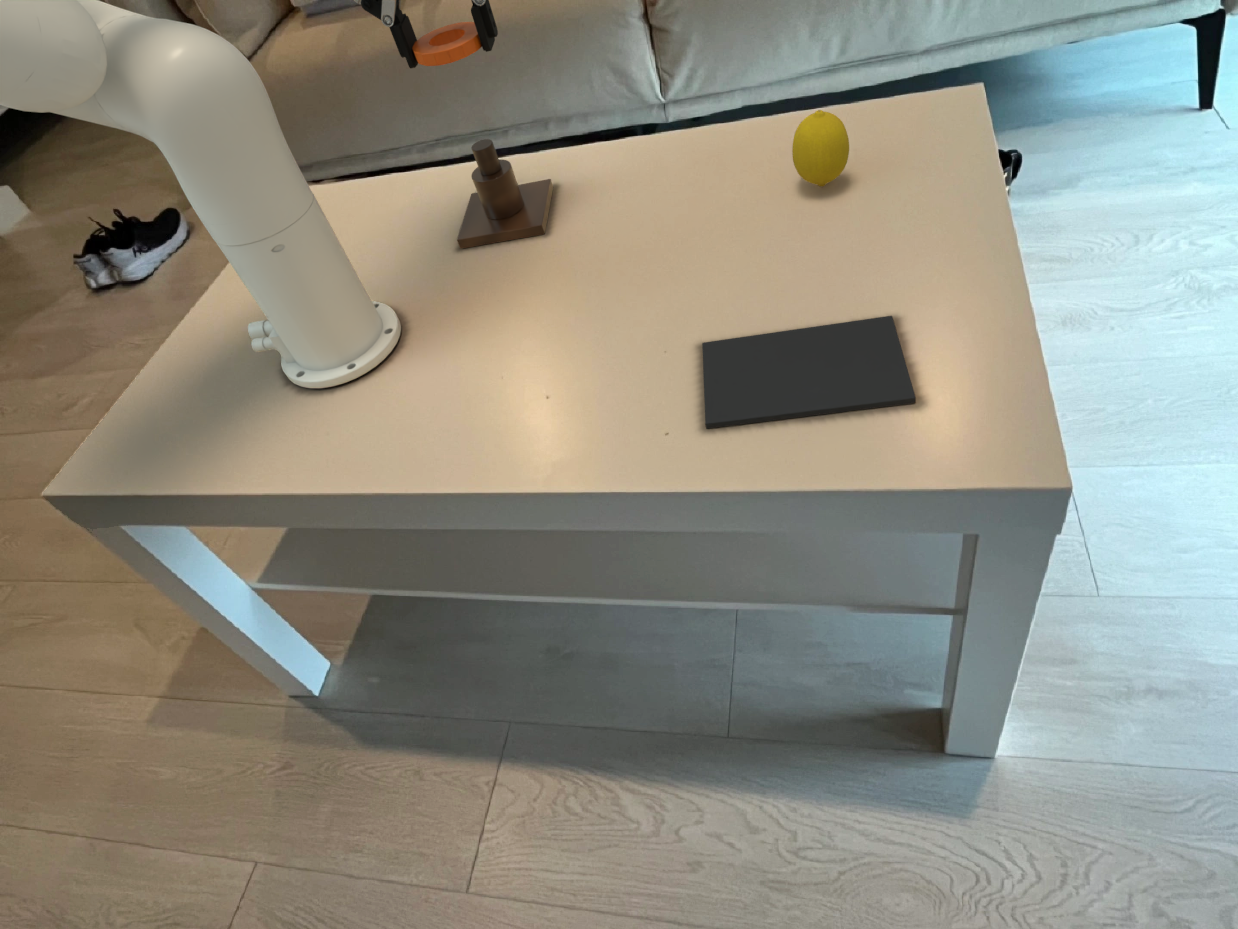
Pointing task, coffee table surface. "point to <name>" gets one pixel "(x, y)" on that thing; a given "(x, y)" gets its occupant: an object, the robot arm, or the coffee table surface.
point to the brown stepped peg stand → (502, 202)
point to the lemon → (820, 148)
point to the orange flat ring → (447, 44)
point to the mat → (805, 373)
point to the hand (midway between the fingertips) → (452, 52)
